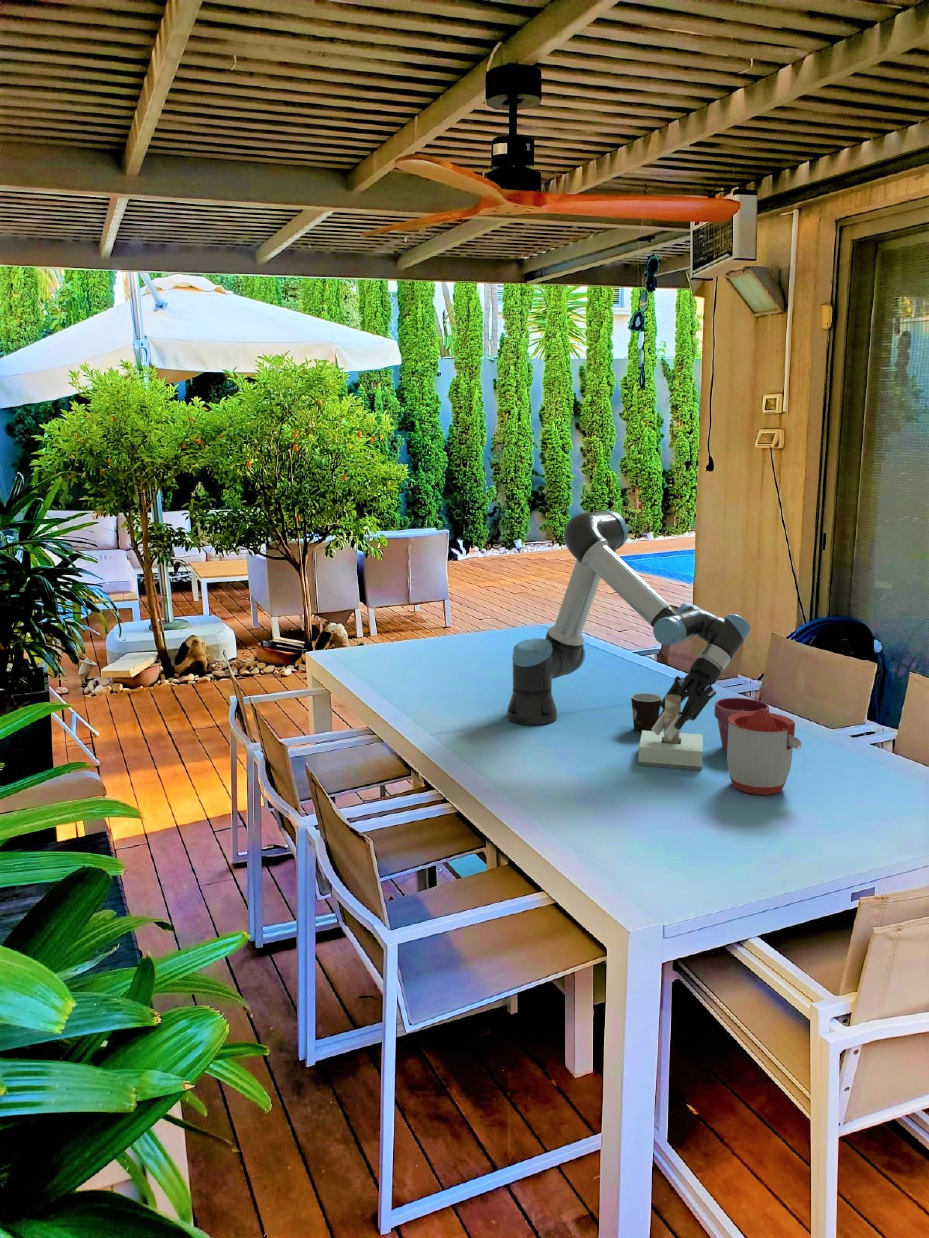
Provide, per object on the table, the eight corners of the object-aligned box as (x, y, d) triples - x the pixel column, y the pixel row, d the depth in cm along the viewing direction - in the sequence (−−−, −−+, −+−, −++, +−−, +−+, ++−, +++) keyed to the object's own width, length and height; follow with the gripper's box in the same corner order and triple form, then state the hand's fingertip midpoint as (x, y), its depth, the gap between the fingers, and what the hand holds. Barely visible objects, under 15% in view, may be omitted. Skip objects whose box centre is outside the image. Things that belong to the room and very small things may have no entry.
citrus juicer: (789, 805, 220) (795, 723, 216) (715, 791, 229) (719, 711, 225) (805, 784, 233) (810, 706, 229) (734, 771, 242) (738, 695, 238)
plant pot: (730, 737, 268) (732, 693, 266) (776, 749, 258) (779, 703, 256) (702, 749, 258) (704, 704, 256) (749, 761, 249) (752, 715, 246)
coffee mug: (660, 736, 270) (661, 702, 268) (629, 734, 271) (630, 700, 269) (660, 723, 281) (661, 691, 279) (630, 722, 282) (631, 689, 280)
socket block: (638, 765, 246) (638, 746, 245) (641, 747, 260) (642, 730, 259) (701, 770, 243) (702, 751, 242) (701, 752, 256) (702, 734, 255)
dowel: (663, 749, 249) (665, 698, 246) (663, 744, 253) (665, 693, 250) (678, 750, 248) (680, 699, 245) (679, 745, 252) (681, 694, 249)
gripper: (740, 680, 248) (691, 751, 243) (693, 666, 262) (646, 734, 257) (726, 663, 244) (676, 735, 239) (680, 650, 258) (631, 718, 253)
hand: (661, 734), depth 248 cm, fingers closed on dowel, 4 cm apart
